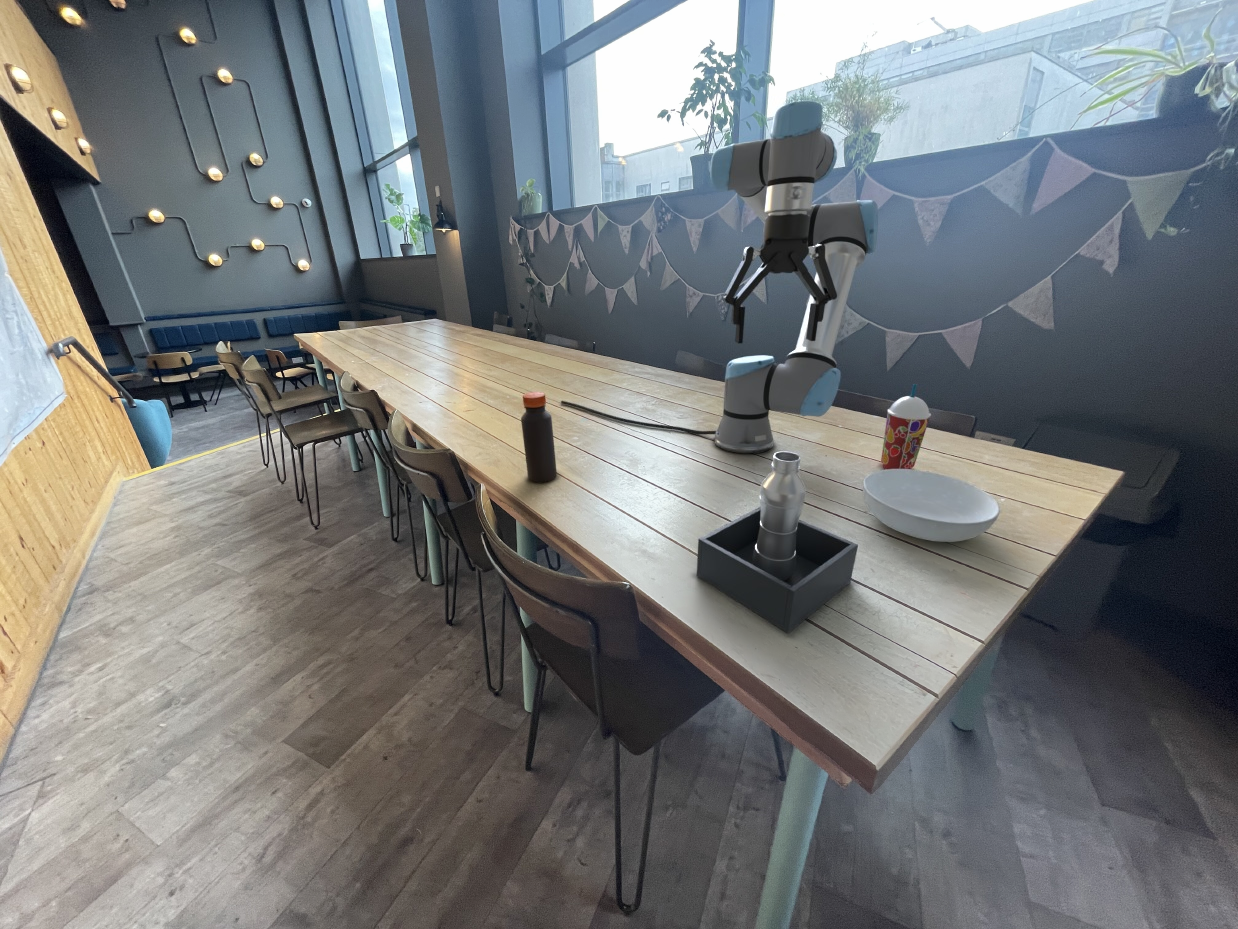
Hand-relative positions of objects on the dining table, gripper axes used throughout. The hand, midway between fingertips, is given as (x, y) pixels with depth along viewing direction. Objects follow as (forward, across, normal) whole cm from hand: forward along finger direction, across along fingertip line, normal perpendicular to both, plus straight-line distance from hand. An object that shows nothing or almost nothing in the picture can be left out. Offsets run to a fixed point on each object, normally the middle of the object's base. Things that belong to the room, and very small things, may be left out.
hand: (774, 341), depth 89 cm
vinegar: (+32, -49, +10) cm, 59 cm away
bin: (+32, -7, -30) cm, 44 cm away
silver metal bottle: (+31, -7, -31) cm, 44 cm away
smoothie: (+32, +35, +9) cm, 48 cm away
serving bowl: (+32, +25, -16) cm, 44 cm away
